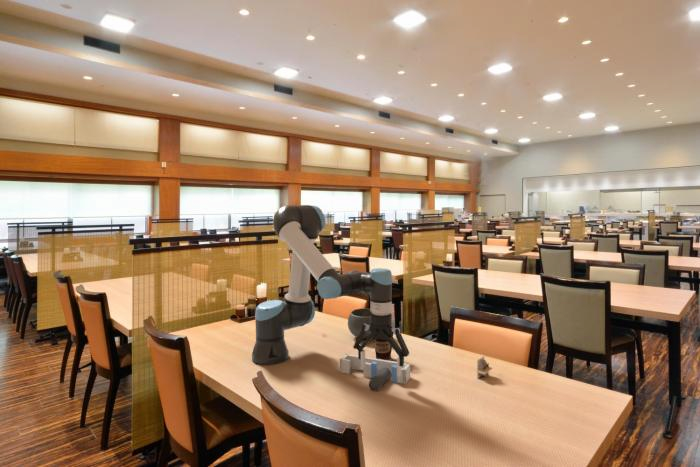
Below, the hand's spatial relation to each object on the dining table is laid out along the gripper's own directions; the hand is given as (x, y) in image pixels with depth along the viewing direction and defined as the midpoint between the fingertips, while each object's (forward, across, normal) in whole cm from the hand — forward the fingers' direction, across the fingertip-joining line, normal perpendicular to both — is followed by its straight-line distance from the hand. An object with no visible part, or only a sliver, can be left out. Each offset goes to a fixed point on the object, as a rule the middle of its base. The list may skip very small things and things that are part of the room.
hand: (380, 371), depth 142 cm
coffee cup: (+5, -7, +23) cm, 24 cm away
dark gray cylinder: (+5, 0, 0) cm, 5 cm away
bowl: (+5, -24, +46) cm, 52 cm away
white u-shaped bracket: (+4, -5, +6) cm, 9 cm away
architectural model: (+5, +33, +21) cm, 39 cm away
